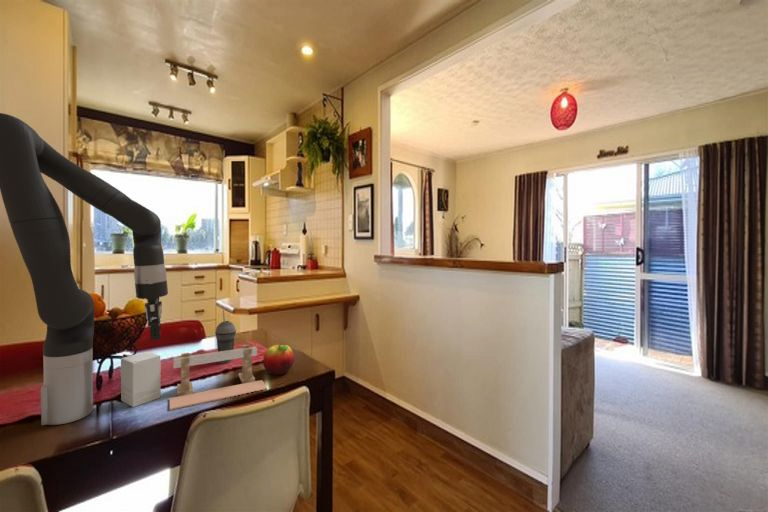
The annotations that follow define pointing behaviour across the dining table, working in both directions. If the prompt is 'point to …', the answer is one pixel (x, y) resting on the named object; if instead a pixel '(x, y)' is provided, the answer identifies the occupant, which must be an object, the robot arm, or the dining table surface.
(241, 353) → the pale grey long bar
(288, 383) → the dining table surface
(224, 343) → the beverage cup
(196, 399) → the terracotta board
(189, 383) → the left stand
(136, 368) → the supplement box
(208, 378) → the dining table surface
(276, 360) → the fruit
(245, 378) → the right stand
